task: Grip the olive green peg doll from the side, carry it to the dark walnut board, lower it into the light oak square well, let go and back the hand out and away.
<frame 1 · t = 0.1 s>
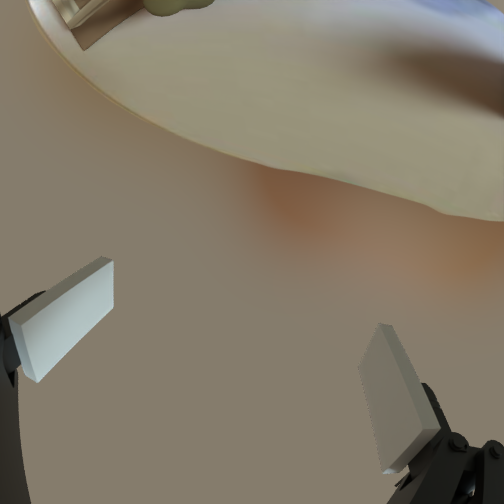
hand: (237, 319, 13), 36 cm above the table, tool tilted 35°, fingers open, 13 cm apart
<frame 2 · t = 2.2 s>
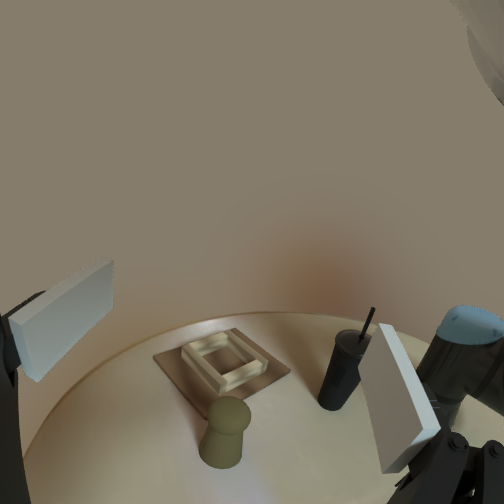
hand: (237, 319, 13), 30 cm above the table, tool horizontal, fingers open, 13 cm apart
olive green peg doll: (220, 452, 34), on the table
drinking cup: (330, 402, 47), on the table
well board: (222, 368, 51), on the table
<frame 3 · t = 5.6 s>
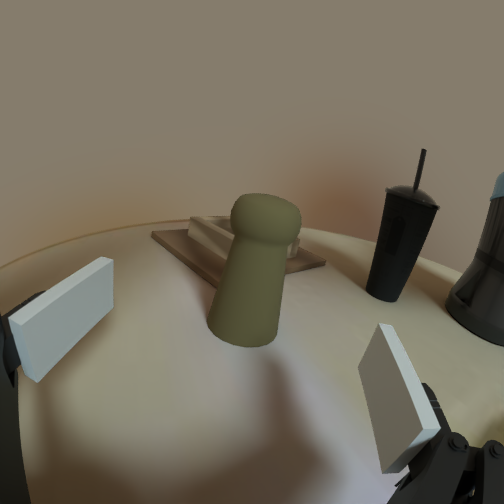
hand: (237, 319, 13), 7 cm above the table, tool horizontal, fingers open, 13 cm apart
olive green peg doll: (241, 327, 25), on the table
drinking cup: (381, 295, 38), on the table
well board: (240, 251, 42), on the table
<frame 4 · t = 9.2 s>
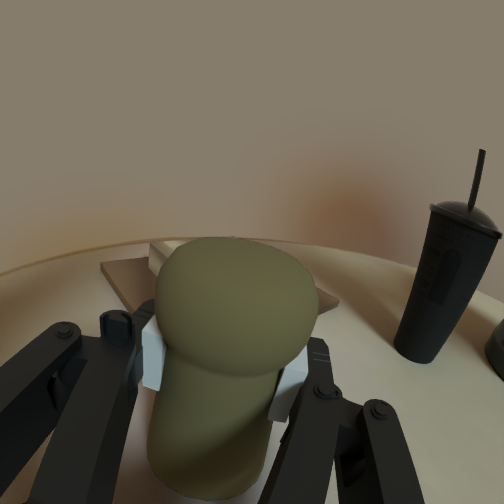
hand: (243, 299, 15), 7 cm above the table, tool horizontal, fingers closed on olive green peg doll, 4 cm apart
olive green peg doll: (205, 453, 12), on the table, touching gripper
drinking cup: (413, 351, 25), on the table
well board: (220, 290, 30), on the table
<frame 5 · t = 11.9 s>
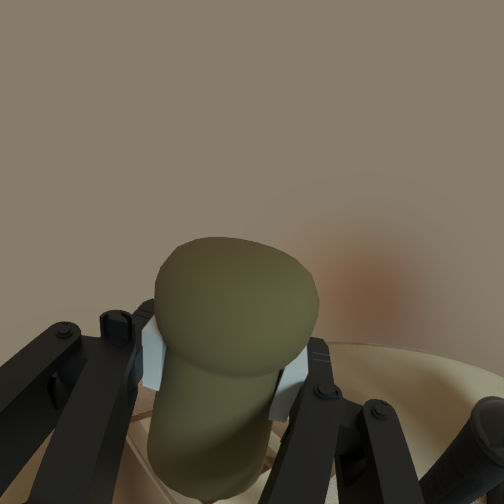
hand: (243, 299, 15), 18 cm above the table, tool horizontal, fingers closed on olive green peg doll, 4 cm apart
olive green peg doll: (205, 453, 12), point 11 cm above the table, touching gripper
well board: (210, 467, 21), on the table
when the fingers open (9 cm above the table, at t = 15.0 s): olive green peg doll drops 1 cm, resting on well board.
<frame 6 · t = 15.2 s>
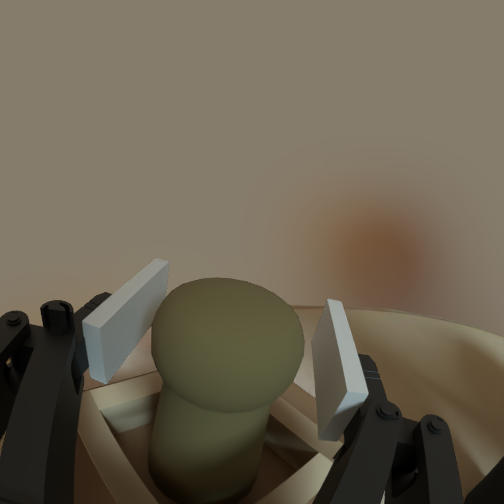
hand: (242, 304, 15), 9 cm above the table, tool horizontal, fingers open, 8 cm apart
olive green peg doll: (202, 466, 13), point 1 cm above the table, touching well board
well board: (201, 470, 13), on the table
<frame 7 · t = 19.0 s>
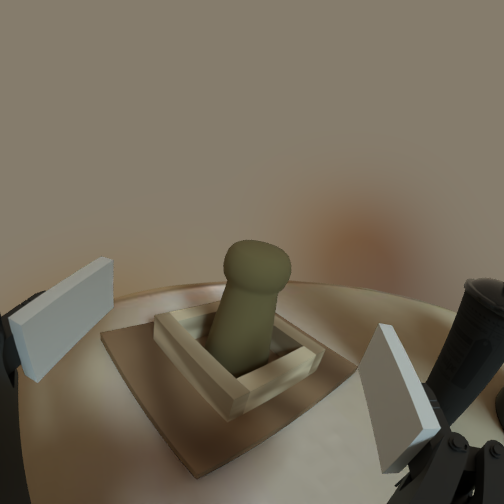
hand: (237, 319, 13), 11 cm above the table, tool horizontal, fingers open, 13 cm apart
olive green peg doll: (234, 359, 26), point 1 cm above the table, touching well board
drinking cup: (428, 419, 22), on the table
well board: (233, 364, 26), on the table
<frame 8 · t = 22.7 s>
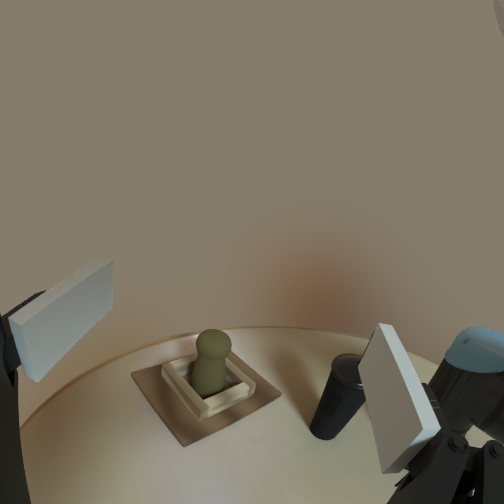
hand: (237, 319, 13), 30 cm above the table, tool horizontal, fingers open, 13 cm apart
olive green peg doll: (206, 387, 45), point 1 cm above the table, touching well board
drinking cup: (323, 430, 41), on the table
well board: (206, 389, 45), on the table
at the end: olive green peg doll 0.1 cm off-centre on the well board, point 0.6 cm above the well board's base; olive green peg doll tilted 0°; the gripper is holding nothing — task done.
